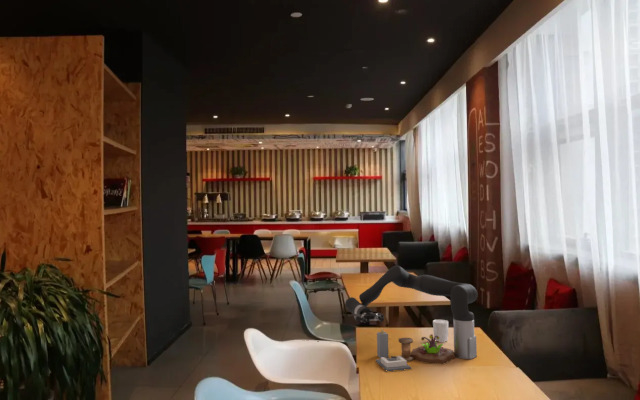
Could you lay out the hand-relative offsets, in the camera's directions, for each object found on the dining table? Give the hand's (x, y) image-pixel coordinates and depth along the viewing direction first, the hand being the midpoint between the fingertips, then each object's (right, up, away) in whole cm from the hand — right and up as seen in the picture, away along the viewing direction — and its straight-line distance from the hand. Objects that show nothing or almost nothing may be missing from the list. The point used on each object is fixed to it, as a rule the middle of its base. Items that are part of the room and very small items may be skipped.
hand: (373, 320), depth 234 cm
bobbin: (+12, -14, -14) cm, 23 cm away
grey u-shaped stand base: (+6, -14, -24) cm, 28 cm away
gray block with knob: (+3, -14, -11) cm, 18 cm away
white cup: (+37, -14, +14) cm, 41 cm away
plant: (+26, -14, -12) cm, 32 cm away
